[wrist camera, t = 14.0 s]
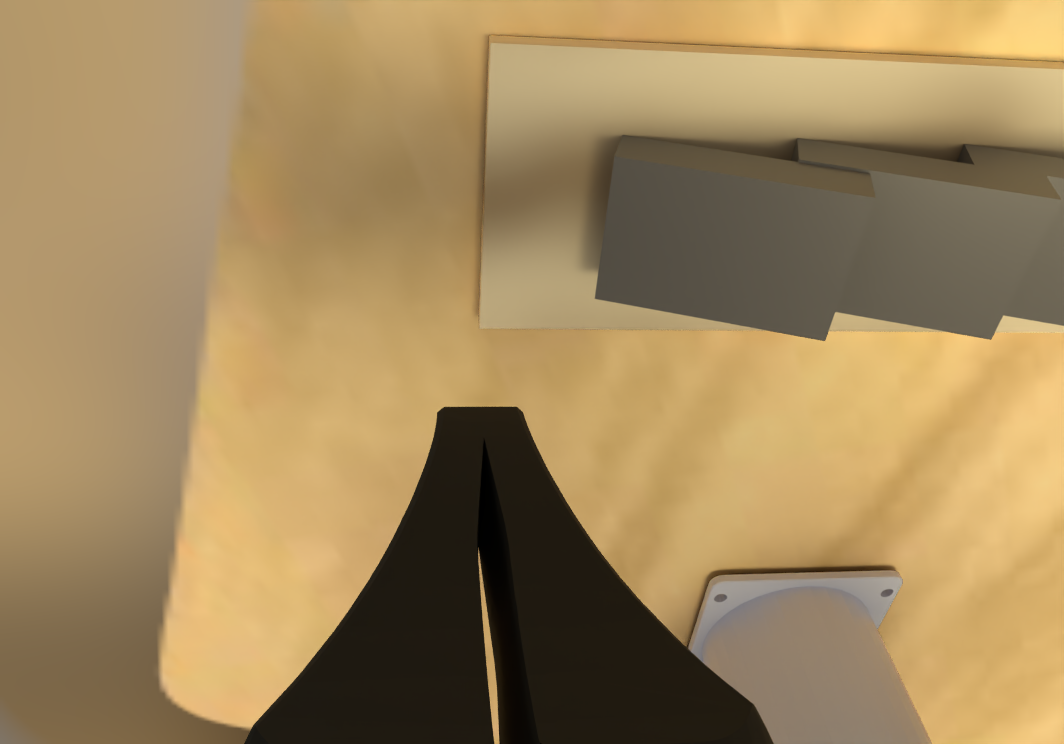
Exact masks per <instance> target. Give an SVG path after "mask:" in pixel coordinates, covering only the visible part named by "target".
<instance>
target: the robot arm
mask: <svg viewBox="0 0 1064 744" xmlns="http://www.w3.org/2000/svg"><path fill="white" fill-rule="evenodd" d="M478 547H479V554H480V561H481V568H482V576H483V583H484V590H485V597H486V605H487V612H488V619H489V626H490V633H491V640H492V647H493V655H494V662H495V671H496V682H497V696H498V719H499V741H500V744H932V742H931V740H930V738H929V736H928V734H927V732H926V730H925V728H924V725H923V723H922V721H921V719H920V717H919V715H918V713H917V711H916V709H915V707H914V705H913V703H912V700H911V698H910V696H909V694H908V692H907V690H906V688H905V686H904V684H903V682H902V680H901V678H900V675H899V673H898V671H897V669H896V667H895V665H894V663H893V661H892V659H891V657H890V655H889V653H888V651H887V648H886V646H885V644H884V642H883V640H882V638H881V636H880V634H879V632H878V630H877V629H878V628H879V626H880V624H881V622H882V620H883V618H884V617H885V615H886V613H887V611H888V609H889V607H890V606H891V604H892V602H893V600H894V598H895V596H896V595H897V593H898V591H899V589H900V587H901V585H902V583H903V580H902V578H901V576H900V574H899V572H897V571H893V570H881V571H844V572H807V573H771V574H734V575H718V576H716V577H714V578H713V579H711V580H710V582H709V584H708V587H707V590H706V593H705V596H704V600H703V603H702V606H701V609H700V612H699V615H698V618H697V622H696V625H695V628H694V631H693V634H692V637H691V640H690V644H689V647H688V648H687V647H685V646H684V645H683V644H682V643H681V642H680V641H679V640H678V639H677V638H676V637H675V636H674V635H673V634H672V633H671V632H670V631H669V630H668V629H667V628H666V627H665V626H664V625H663V624H662V623H661V622H660V621H659V620H658V619H657V618H656V616H655V615H654V614H653V613H652V612H651V611H650V610H649V609H648V608H647V607H646V606H645V605H644V604H643V603H642V602H641V601H640V600H639V599H638V598H637V596H636V595H635V594H634V593H633V592H632V591H631V589H630V588H629V587H628V586H627V585H626V584H625V582H624V581H623V580H622V579H621V578H620V577H619V575H618V574H617V573H616V571H615V570H614V569H613V568H612V566H611V565H610V564H609V563H608V561H607V560H606V559H605V558H604V556H603V555H602V554H601V552H600V551H599V550H598V548H597V547H596V545H595V544H594V543H593V541H592V540H591V538H590V537H589V536H588V534H587V533H586V531H585V530H584V528H583V527H582V525H581V524H580V522H579V521H578V519H577V518H576V516H575V515H574V513H573V512H572V510H571V508H570V507H569V505H568V504H567V502H566V500H565V499H564V497H563V495H562V493H561V492H560V490H559V488H558V486H557V485H556V483H555V481H554V480H553V478H552V476H551V474H550V472H549V471H548V469H547V467H546V465H545V463H544V461H543V459H542V457H541V455H540V453H539V451H538V449H537V447H536V445H535V442H534V440H533V438H532V436H531V433H530V431H529V428H528V426H527V423H526V421H525V418H524V414H523V412H522V411H521V410H520V409H519V408H518V407H444V408H442V409H441V410H440V411H439V412H437V423H436V428H435V433H434V438H433V442H432V445H431V449H430V452H429V455H428V458H427V461H426V464H425V467H424V469H423V472H422V475H421V477H420V480H419V482H418V485H417V487H416V490H415V492H414V495H413V497H412V499H411V502H410V504H409V506H408V508H407V510H406V512H405V514H404V516H403V518H402V521H401V523H400V525H399V527H398V529H397V531H396V533H395V535H394V537H393V539H392V541H391V543H390V544H389V546H388V548H387V550H386V552H385V554H384V555H383V557H382V559H381V561H380V562H379V564H378V566H377V567H376V569H375V571H374V572H373V574H372V576H371V577H370V579H369V581H368V582H367V584H366V585H365V587H364V588H363V590H362V591H361V593H360V594H359V596H358V598H357V599H356V601H355V602H354V604H353V605H352V607H351V608H350V610H349V611H348V613H347V614H346V615H345V617H344V618H343V620H342V621H341V622H340V624H339V625H338V626H337V628H336V629H335V631H334V632H333V633H332V634H331V636H330V637H329V638H328V639H327V641H326V642H325V643H324V645H323V646H322V647H321V648H320V650H319V651H318V652H317V653H316V655H315V656H314V657H313V658H312V660H311V661H310V662H309V663H308V665H307V666H306V667H305V669H304V670H303V671H302V672H301V673H300V674H299V676H298V677H297V678H296V679H295V680H294V681H293V683H292V684H291V685H290V686H289V687H288V688H287V689H286V690H285V691H284V692H283V693H282V695H281V696H280V697H279V698H278V699H277V700H276V701H275V702H274V703H273V704H272V705H271V706H270V708H269V709H268V710H267V711H266V712H265V713H264V714H263V715H262V716H261V717H260V718H259V720H258V721H257V722H256V723H255V724H254V725H253V727H252V729H251V731H250V733H249V735H248V737H247V739H246V741H245V743H244V744H494V738H493V729H492V719H491V709H490V699H489V689H488V679H487V667H486V656H485V644H484V633H483V620H482V606H481V593H480V579H479V564H478Z"/></svg>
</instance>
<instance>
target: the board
mask: <svg viewBox="0 0 1064 744" xmlns="http://www.w3.org/2000/svg"><path fill="white" fill-rule="evenodd" d="M622 135H628V136H634V137H641V138H647V139H654V140H660V141H666V142H673V143H679V144H686V145H692V146H698V147H705V148H711V149H718V150H724V151H731V152H737V153H743V154H750V155H756V156H763V157H769V158H775V159H782V160H788V161H791V159H792V156H793V152H794V149H795V145H796V141H797V138H801V139H807V140H814V141H820V142H827V143H834V144H840V145H847V146H854V147H860V148H867V149H874V150H880V151H887V152H893V153H900V154H907V155H913V156H920V157H927V158H933V159H940V160H946V161H953V162H957V160H958V158H959V155H960V153H961V151H962V148H963V146H964V144H969V145H975V146H982V147H989V148H996V149H1002V150H1009V151H1016V152H1023V153H1029V154H1036V155H1043V156H1049V157H1056V158H1063V159H1064V62H1049V61H1028V60H1007V59H986V58H964V57H943V56H922V55H901V54H879V53H858V52H837V51H816V50H794V49H773V48H752V47H731V46H710V45H688V44H667V43H646V42H625V41H603V40H582V39H561V38H540V37H519V36H497V35H489V56H488V82H487V108H486V135H485V161H484V187H483V214H482V240H481V266H480V293H479V329H588V330H727V331H767V330H762V329H756V328H751V327H745V326H740V325H734V324H729V323H724V322H718V321H713V320H707V319H702V318H696V317H691V316H685V315H680V314H675V313H669V312H664V311H658V310H653V309H647V308H642V307H636V306H631V305H625V304H620V303H615V302H609V301H604V300H598V299H595V292H596V285H597V278H598V271H599V264H600V256H601V249H602V242H603V235H604V228H605V220H606V213H607V206H608V199H609V192H610V185H611V177H612V170H613V163H614V156H615V153H616V151H617V148H618V146H619V143H620V140H621V138H622ZM829 331H867V332H945V331H940V330H934V329H928V328H923V327H917V326H911V325H906V324H900V323H894V322H889V321H883V320H878V319H872V318H866V317H861V316H855V315H849V314H844V313H838V312H835V314H834V317H833V320H832V323H831V326H830V328H829ZM995 332H1006V333H1064V326H1061V325H1056V324H1050V323H1044V322H1038V321H1033V320H1027V319H1021V318H1015V317H1010V316H1004V315H1003V317H1002V319H1001V321H1000V323H999V325H998V327H997V329H996V331H995Z"/></svg>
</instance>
